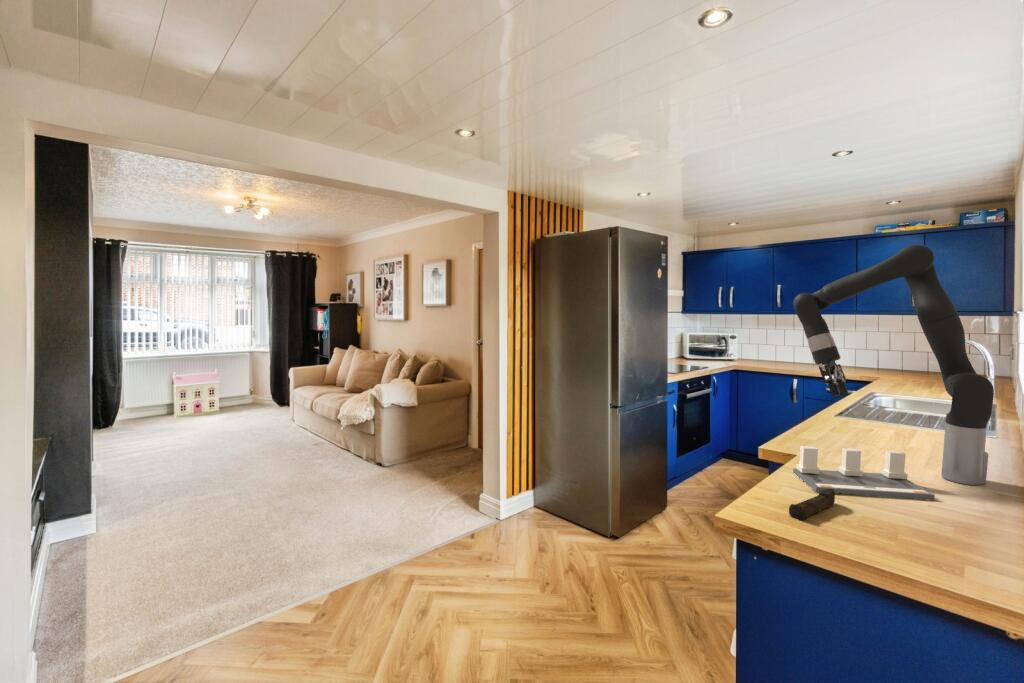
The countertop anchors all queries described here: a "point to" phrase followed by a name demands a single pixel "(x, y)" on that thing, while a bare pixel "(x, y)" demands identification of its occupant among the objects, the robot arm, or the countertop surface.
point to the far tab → (808, 460)
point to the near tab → (894, 465)
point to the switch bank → (864, 484)
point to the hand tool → (813, 505)
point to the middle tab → (850, 462)
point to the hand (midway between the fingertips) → (840, 395)
